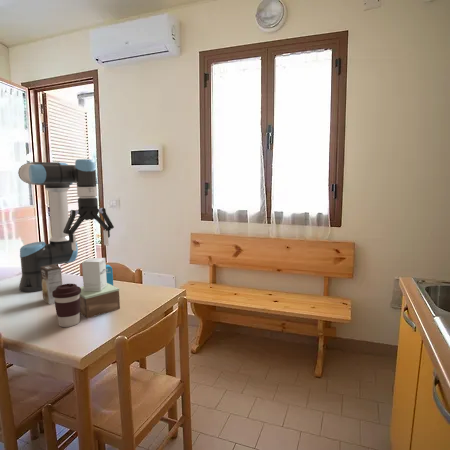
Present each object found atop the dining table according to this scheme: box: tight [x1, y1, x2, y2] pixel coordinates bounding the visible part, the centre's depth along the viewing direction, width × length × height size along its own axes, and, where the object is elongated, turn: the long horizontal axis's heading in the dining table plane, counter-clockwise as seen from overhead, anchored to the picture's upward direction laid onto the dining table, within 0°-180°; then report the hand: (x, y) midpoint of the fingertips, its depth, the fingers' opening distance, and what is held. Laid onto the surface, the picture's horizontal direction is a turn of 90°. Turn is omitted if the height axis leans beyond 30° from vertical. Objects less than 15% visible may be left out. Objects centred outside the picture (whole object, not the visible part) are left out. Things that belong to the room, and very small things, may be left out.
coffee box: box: [40, 264, 63, 305], centre depth 151 cm, size 9×6×16 cm
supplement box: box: [81, 257, 107, 291], centre depth 139 cm, size 7×7×13 cm
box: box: [80, 290, 121, 319], centre depth 140 cm, size 14×14×8 cm
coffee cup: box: [52, 283, 81, 328], centre depth 125 cm, size 10×10×15 cm
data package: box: [106, 264, 114, 286], centre depth 165 cm, size 12×4×12 cm, turn 122°
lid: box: [79, 283, 120, 299], centre depth 139 cm, size 15×14×1 cm
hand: (90, 247), depth 138 cm, fingers open, 13 cm apart
